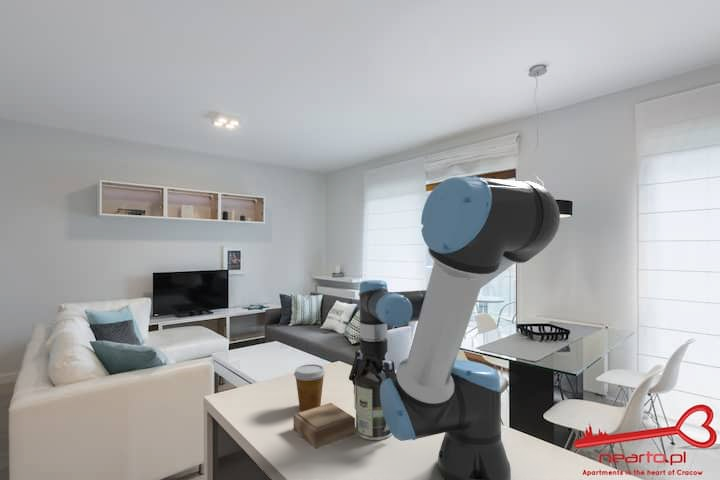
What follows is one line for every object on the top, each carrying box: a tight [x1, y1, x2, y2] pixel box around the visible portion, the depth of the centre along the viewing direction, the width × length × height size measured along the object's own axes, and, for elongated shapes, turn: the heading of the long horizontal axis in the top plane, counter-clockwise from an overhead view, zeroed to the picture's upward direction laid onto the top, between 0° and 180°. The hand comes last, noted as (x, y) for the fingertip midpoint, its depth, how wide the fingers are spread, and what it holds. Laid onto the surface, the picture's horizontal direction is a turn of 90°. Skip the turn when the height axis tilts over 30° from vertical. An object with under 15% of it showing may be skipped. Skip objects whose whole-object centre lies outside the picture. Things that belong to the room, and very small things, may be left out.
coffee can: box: [355, 371, 393, 441], centre depth 97 cm, size 10×10×14 cm
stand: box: [292, 402, 356, 449], centre depth 97 cm, size 12×12×4 cm
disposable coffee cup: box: [293, 363, 326, 412], centre depth 111 cm, size 10×10×12 cm
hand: (374, 417), depth 97 cm, fingers open, 13 cm apart
